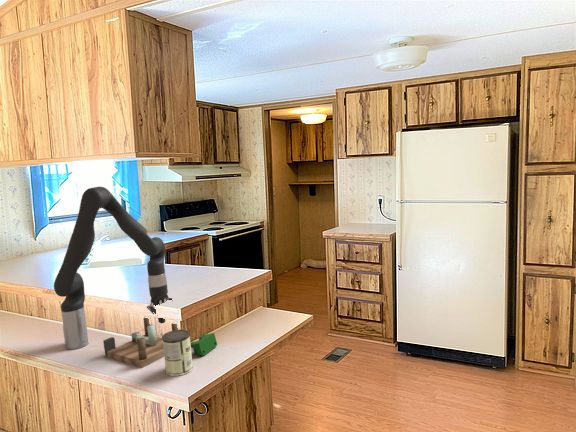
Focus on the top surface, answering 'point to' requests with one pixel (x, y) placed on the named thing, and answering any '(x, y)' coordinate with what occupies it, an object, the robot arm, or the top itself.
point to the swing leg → (148, 340)
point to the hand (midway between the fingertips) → (162, 322)
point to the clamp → (204, 344)
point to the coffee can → (177, 352)
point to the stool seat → (136, 349)
